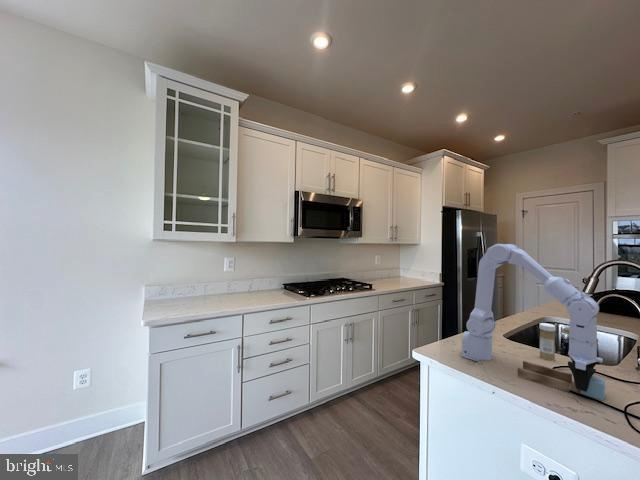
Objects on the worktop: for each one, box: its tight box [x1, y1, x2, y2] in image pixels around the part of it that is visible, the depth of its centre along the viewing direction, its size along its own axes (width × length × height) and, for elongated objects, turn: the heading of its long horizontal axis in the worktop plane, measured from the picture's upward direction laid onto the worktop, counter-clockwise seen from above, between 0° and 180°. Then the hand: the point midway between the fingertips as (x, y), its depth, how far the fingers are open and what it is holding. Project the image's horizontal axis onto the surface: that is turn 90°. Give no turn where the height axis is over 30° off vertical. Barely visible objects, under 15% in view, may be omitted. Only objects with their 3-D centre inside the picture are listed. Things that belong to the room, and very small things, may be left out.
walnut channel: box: [517, 360, 573, 394], centre depth 84 cm, size 12×8×4 cm
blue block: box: [579, 375, 606, 401], centre depth 76 cm, size 4×4×4 cm
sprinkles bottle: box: [538, 322, 557, 362], centre depth 100 cm, size 5×5×14 cm
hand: (582, 386), depth 78 cm, fingers closed on blue block, 4 cm apart
